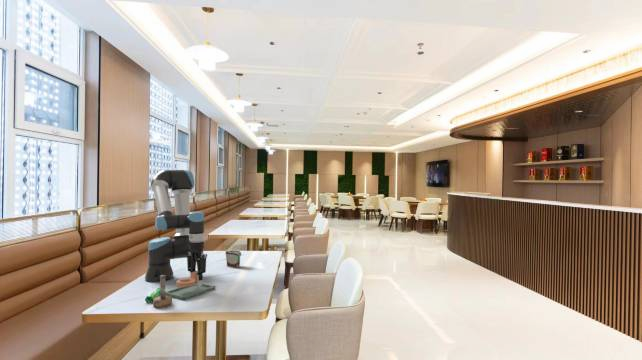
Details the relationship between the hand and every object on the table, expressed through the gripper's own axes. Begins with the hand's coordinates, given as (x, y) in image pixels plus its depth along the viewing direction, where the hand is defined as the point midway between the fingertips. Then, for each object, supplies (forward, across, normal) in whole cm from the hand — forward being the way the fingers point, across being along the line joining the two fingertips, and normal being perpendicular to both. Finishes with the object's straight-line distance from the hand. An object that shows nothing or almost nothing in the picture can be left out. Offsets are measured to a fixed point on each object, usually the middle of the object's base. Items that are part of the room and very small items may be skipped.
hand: (196, 285), depth 187 cm
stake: (+2, +4, -23) cm, 23 cm away
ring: (-2, 0, -5) cm, 5 cm away
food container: (+2, -17, +47) cm, 50 cm away
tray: (+2, 0, -4) cm, 5 cm away
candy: (+3, -7, -19) cm, 21 cm away
